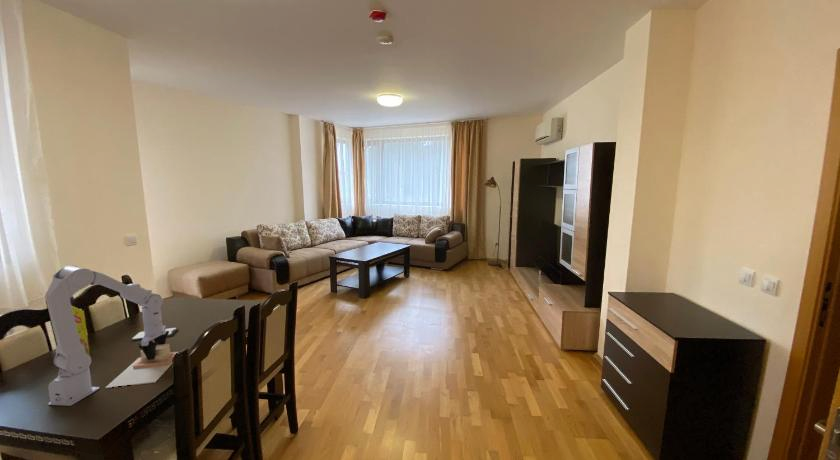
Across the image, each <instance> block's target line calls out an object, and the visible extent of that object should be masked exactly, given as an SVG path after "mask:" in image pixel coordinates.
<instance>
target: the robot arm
mask: <svg viewBox="0 0 840 460" xmlns="http://www.w3.org/2000/svg"><path fill="white" fill-rule="evenodd" d="M90 285H91V286H97V285H99V286H103V287H105V288H108V289H110V290H113V291H115V292H118V293H119V295H120V298H122V299H123V300H127V301H130V302H131V303H134V304H137V305H139V306H140V307H141V311H142V312H141V313H142V319H143V320H142V321H143V323H142V324H143V331H144V333H145V334H144V337H143V340H140V343H139V344H138V349H140V351H141V350H142V351H143V352H144V353H145V355H146V358H147V359H148V360H153V359H155V350H156V346H157V345H160V344H166V341H167V338H168V337H167V336H168V334H169V331H165V330H166V329H167V327H166V325H163V320H162V319H163V317H162V306H163V303H164V300H165V299H163V297H162V295H160V294H158V293H155V292H152V289H150V288H149V289H145V288H144V287H141V284H140V283H129V284H125V283H123V282H122V281H119V280H117V279H116V278H115V279H114V278H113V277H111V276H108V275H106V274H104V273H102V272H99V271H95V270H91V269H89V268H84V267H79V266H76V265H66V266H64V267H61V268H60V269H59V270H58V271H57V272H55V273H54V274H53V275H52V281H51V283H50V285H49V286H48V289H47V290H46V293H45V295H44V298H45V301H46V306H47V309H48V314H49V318H50V322H51V325H52V330H53V333H54V337H55V341H56V346H57V347H56V348H55V355H54V359H53V364H54V365H55V366H56V367H57V368H58V372H57V377H56V378H54V379H52V381H51V382H49V384H48V386H47V388H48V389H47V391H48V398H49V402H48V404H47V405H48V406H49V405H50V406H73V405H74V404H77V403H78V402H80V401H82V399H84V398H86V397H87V396H90V395H91V394H93V393H95V392H97V391H98V390H100V387H99V386H92V377H91V371H90V370H91V369H90V366H91V364H92V357H91V356H89V355H88V354H87V353H86V352H85V349H84V347H83V346H82V344H81V343H80V339H79V335H78V331H77V327H76V323H75V318H74V314H73V310H72V306H73V305H72V301H71V298H72V297H73V296H75V294H76V293H78V292H79V291H81V290H83V289H85V288H87V287H88V286H90ZM153 340H154V342H153Z"/></svg>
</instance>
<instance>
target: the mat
mask: <svg viewBox="0 0 840 460" xmlns="http://www.w3.org/2000/svg"><path fill="white" fill-rule="evenodd" d="M140 359H141V356H140V357H138V358H136V359H135V360H134V361H133V362H132V363H131V364H130V365H129V366H128V367H126V369H124V370H123V371H122V372H121V373H120V374H118V376H117V377H115V378H114V379H113V380H112V381H111V382H110V383H109V384H107V386H105V389H113V388H112V387H114V388H119V387H118V386H122V387H128V386H127V385H131V386H137V385H145V384H146V385H147V384H155V383H156V382H157V381H158V380H159V379H160V378H161V377H162V376H163V375H164V374H165V372H166V371H167V370H168V369H169V367H170V366H172V364H173V363H172V362H171V363H170V364H169V365H163V366H154V367H145V368H136V369H133V365H134V364H135V363H137V362H138V361H139V360H140Z"/></svg>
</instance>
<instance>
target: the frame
mask: <svg viewBox="0 0 840 460" xmlns="http://www.w3.org/2000/svg"><path fill="white" fill-rule="evenodd" d="M176 353H178V354H179V351H172V352H171V351H170V355H171V357H170V358H169V359H168V361H163V362H154V363H144V364H142V361H141V359H140V360H139V361H138V362H137V363H135V364H134V365H133V369H136V368H145V367H154V366H163V365H169V364H170V363H171V362H172V359H173V357H174V355H175V354H176Z"/></svg>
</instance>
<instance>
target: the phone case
mask: <svg viewBox="0 0 840 460" xmlns="http://www.w3.org/2000/svg"><path fill="white" fill-rule="evenodd" d="M165 331H169V334H168V336H167V338H171V337H173V336H174V335H175V334H176V333H177V332H178V331H179V330H178V327H169V328H166V330H165ZM144 334H145V333H144V330H142V331H139V332H137V333H136V334H135V335H134V336H133V337H131V338H130V339H131V340H130V341H131V342H137V341H142V340H143V337H144Z"/></svg>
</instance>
